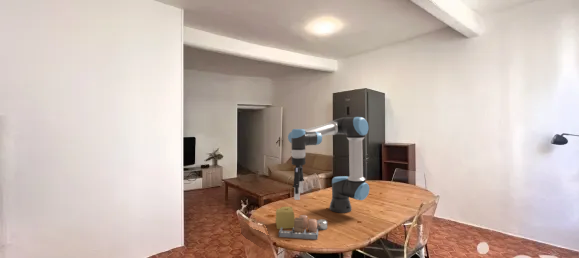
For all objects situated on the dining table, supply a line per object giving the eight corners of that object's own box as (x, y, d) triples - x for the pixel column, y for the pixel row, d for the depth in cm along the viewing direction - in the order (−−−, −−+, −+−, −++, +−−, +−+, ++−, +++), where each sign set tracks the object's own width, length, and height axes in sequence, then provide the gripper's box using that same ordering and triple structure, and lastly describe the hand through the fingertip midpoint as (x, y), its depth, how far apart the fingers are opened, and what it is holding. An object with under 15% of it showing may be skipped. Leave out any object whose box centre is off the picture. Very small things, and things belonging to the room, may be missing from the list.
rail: (318, 233, 146) (318, 228, 146) (317, 239, 138) (317, 234, 138) (281, 231, 149) (281, 226, 149) (278, 236, 142) (278, 232, 142)
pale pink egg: (317, 229, 152) (317, 219, 151) (316, 233, 147) (316, 222, 146) (308, 228, 152) (308, 218, 152) (307, 232, 147) (307, 221, 147)
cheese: (275, 222, 162) (275, 206, 162) (293, 222, 163) (292, 206, 163) (276, 229, 152) (276, 212, 152) (294, 228, 153) (294, 211, 152)
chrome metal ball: (327, 226, 156) (327, 219, 156) (327, 230, 150) (327, 223, 150) (317, 225, 157) (317, 219, 157) (316, 229, 151) (316, 222, 151)
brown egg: (308, 225, 158) (307, 215, 158) (307, 228, 153) (307, 218, 153) (299, 224, 159) (299, 214, 159) (298, 227, 154) (298, 217, 154)
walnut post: (295, 231, 147) (295, 217, 147) (303, 232, 147) (303, 217, 147) (294, 235, 143) (294, 220, 143) (302, 235, 142) (302, 220, 142)
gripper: (295, 154, 157) (295, 189, 157) (287, 160, 132) (288, 202, 133) (307, 154, 155) (308, 190, 156) (302, 160, 131) (302, 203, 131)
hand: (298, 195), depth 144 cm, fingers open, 13 cm apart
